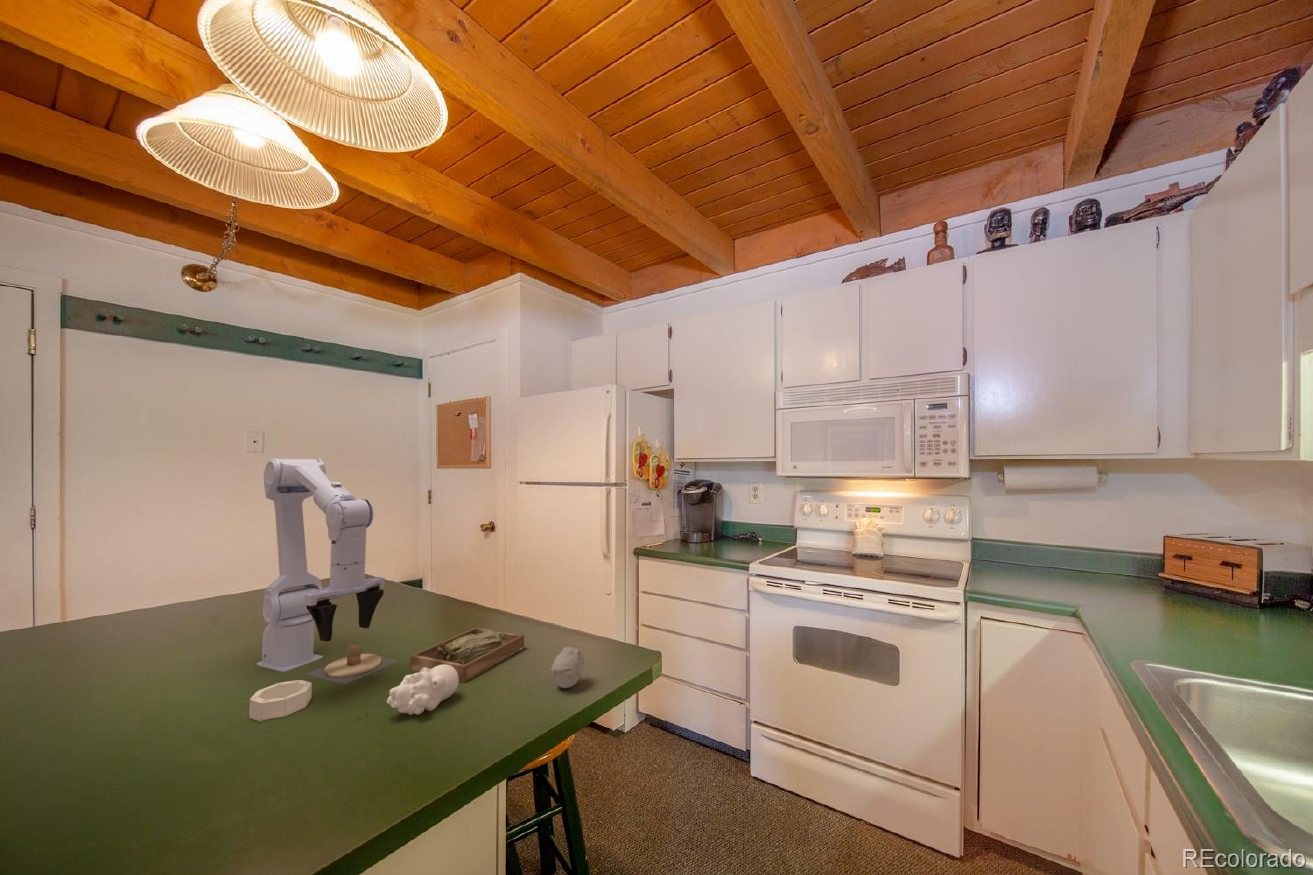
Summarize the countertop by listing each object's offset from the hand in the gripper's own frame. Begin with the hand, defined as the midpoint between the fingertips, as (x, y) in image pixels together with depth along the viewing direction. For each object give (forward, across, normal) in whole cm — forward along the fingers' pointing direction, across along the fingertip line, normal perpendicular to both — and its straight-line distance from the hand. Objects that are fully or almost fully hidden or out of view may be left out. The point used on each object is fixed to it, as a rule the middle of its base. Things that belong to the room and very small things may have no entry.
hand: (345, 633), depth 92 cm
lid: (+10, +6, +6) cm, 14 cm away
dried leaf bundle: (+11, +20, -13) cm, 26 cm away
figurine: (+10, +1, -20) cm, 23 cm away
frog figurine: (+10, +17, -40) cm, 44 cm away
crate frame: (+10, +20, -12) cm, 25 cm away
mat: (+10, +6, +6) cm, 14 cm away
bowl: (+10, -10, +2) cm, 14 cm away
